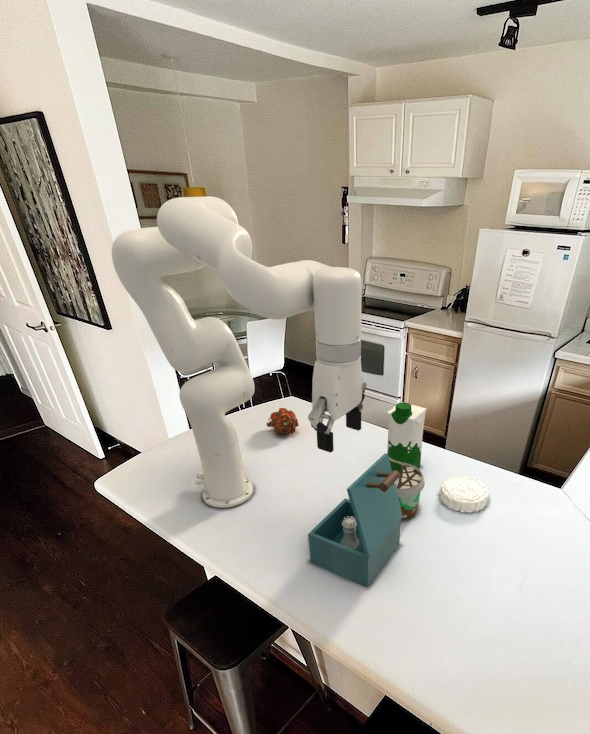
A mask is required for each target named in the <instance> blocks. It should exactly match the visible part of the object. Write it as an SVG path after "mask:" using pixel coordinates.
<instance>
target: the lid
mask: <svg viewBox="0 0 590 734" xmlns="http://www.w3.org/2000/svg"><path fill="white" fill-rule="evenodd" d="M399 477H400V473H399V472H398V471H396V470H393V471H392V469H391V465H390V461H389V456H388V454H387V453H383V454H382V455H381V456H380V457H379V458H378V459H377V460H376V461H375V462H374V463H373V464H371V465H370V467H368V468H367V469H366V470H365V471H364V472H363V473H362V474H361V475H360V476H359V477H357V479H356V480H355V481H354V482H352V484H350V485H349V486H348V487H347V488H346V492H347V495H348V498H349V499H348V500H350V502H351V506H352V509H353V513H354V516H355V520H356V523H357V526H358V530H359V533H360V537H361V540H362V544H363V547H364V550H365V554H366V557H370V556H371V555H372V554H373V553H374V551H375V550H376V549H377V548H378V546H379V545H380V544H381V543H382V542H383V540H384V539H385V538H386V537H387V535H388V534H389V533H390V532H391V531H392V529H393V528H394V527H395V526H396V524H397V523H398V522H399V521H400V519H401V518H402V517H403V516H402V512H401V507H400V503H399V499H398V495H397V490H396V488H397V486H396V482H397V481H399Z"/></svg>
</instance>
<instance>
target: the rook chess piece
mask: <svg viewBox="0 0 590 734" xmlns="http://www.w3.org/2000/svg"><path fill="white" fill-rule="evenodd" d="M356 525H357V523H356V520H355V518H354V519H353V517H352V516H351V518H349V516H347V518H344V520H343V521H342V526H343V531H344V536H343V538H342V540H341V542H340V544H341V545H343V546H346V547H348V548H351V549H353V550H356V551H358V550H359V549H360V542H359V539H358V538H357V537H356V533H355V531H356Z"/></svg>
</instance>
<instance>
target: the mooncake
mask: <svg viewBox="0 0 590 734" xmlns="http://www.w3.org/2000/svg"><path fill="white" fill-rule="evenodd" d="M439 496H440V501H441V502H442V504H444V505H445V506H447V508H449V509H452V510H453V511H456V512H458V511H459V512H460V513H469V514H470V513H473V512H475V513H477V512H479V510H483V509H484V508H485V507H487V505H488V501H489V497H490V491H489V487H488V486H486V484H485V483H484V482H482V481H481V480H479V479H476V478H475V477H473V476H472V477H471V476H466V475H464V476H462V475H457V476H451V477H450V478H446V479H445V480H444V481H442V484H441V486H440V492H439Z"/></svg>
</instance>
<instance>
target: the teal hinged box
mask: <svg viewBox="0 0 590 734" xmlns="http://www.w3.org/2000/svg"><path fill="white" fill-rule="evenodd" d="M347 516H349V518H351V516H352V517H353V519H354V518H355V516H354V513H353V509H352V506H351V502H350V499H348V498H344V499H343V500H342V501H341V502H340V503H339V504H337V505H336V507H334V509H332V510H331V511H330V512H329V513H328V514H327V515H326V516H325V517H324V518H323V519H322V520H321V521H320V522H318V524H317V525H315V527H314V528H312V530H311V531H309V533H308V534H307V539H308V548H309V559H310V563H313V564H315V565H318V566H320V567H322V568H324V569H326V570H329V571H331V572H333V573H336V574H337V575H340V576H342V577H344V578H347V579H348V580H351V581H353V582H356V583H358V584H360V585H362V586H365V587H367V588H368V587H369V586H370V585H371V583H372V582H373V581H374V580H375V578H376V577H377V575H378V574H380V572H381V571H382V569H383V568H384V567H385V565H386V564H387V562H388V561H389V560H390V558H391V557H392V556H393V554H395V552H396V551H397V549H398V548H399V547H400V540H401V524H402V520H401V519H400V521H399V522H398V523H397V524H396V526H395V527H394V528H393V529H392V531H391V532H390V533H389V534H388V535H387V537H386V538H385V539H384V540H383V542H382V543H381V544H380V545H379V546H378V548H377V549H376V550H375V551H374V553H373V554H372V555H371V556H370V557H366V554H365V550H364V547H363V544H362V540H361V537H360V533H359V530H358V526H357V525H356V531H355V533H356V537H357V538H358V539H359V542H360V549H359V550H358V551H356V550H353V549H351V548H348V547H346V546H343V545H341V544H340V542H341V540H342V538H343V536H344V531H343V526H342V521H343V520H344V518H347Z"/></svg>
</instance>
